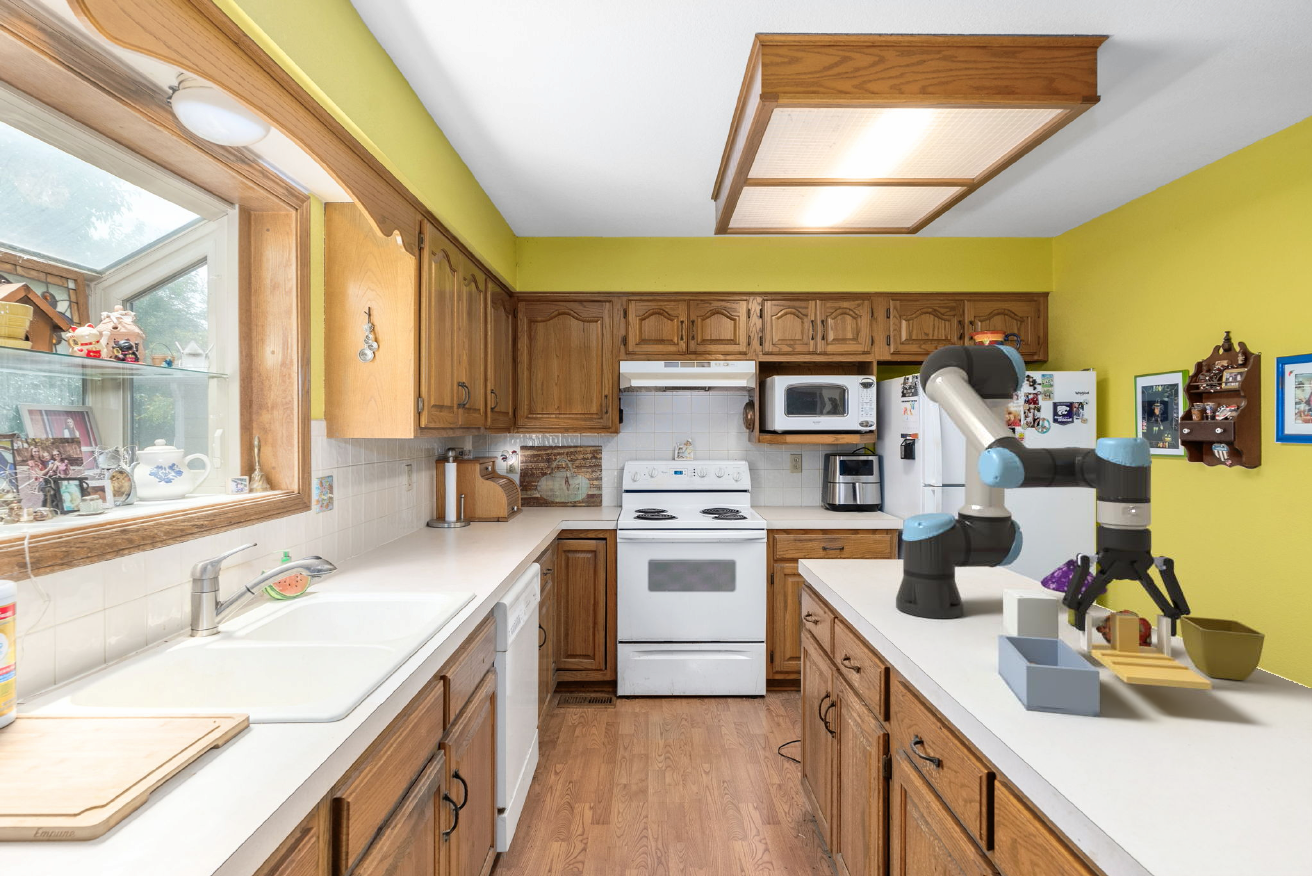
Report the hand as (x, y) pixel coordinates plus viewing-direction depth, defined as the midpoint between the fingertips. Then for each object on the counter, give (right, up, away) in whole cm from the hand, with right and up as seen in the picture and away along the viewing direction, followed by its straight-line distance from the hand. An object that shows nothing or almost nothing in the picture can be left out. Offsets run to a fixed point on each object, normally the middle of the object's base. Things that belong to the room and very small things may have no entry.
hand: (1124, 651), depth 106 cm
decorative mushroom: (+12, -5, +31) cm, 33 cm away
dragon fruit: (+12, -5, +16) cm, 21 cm away
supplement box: (-9, -6, +11) cm, 16 cm away
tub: (-17, -5, -4) cm, 18 cm away
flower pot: (+19, -5, +3) cm, 20 cm away
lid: (-1, -1, -5) cm, 6 cm away
